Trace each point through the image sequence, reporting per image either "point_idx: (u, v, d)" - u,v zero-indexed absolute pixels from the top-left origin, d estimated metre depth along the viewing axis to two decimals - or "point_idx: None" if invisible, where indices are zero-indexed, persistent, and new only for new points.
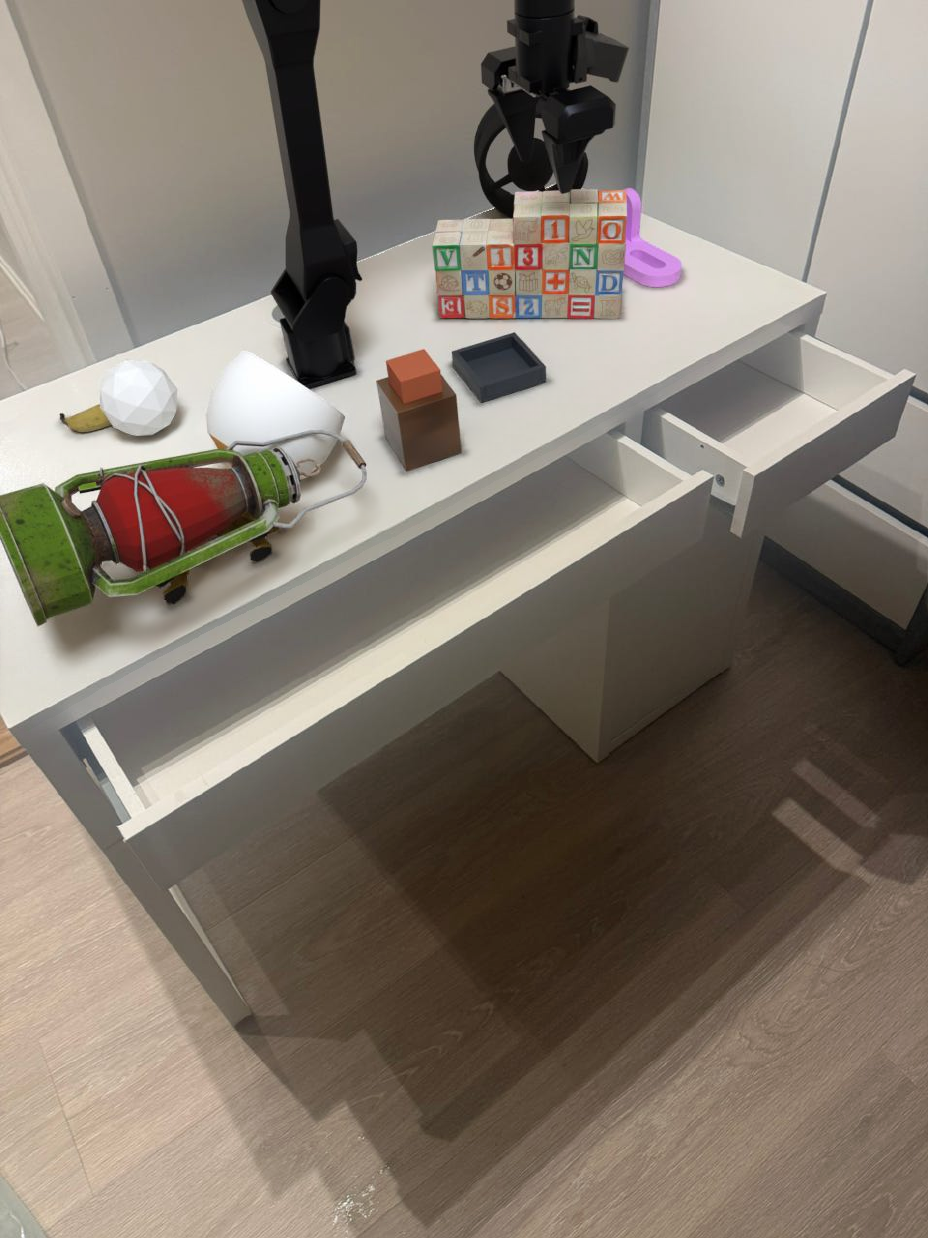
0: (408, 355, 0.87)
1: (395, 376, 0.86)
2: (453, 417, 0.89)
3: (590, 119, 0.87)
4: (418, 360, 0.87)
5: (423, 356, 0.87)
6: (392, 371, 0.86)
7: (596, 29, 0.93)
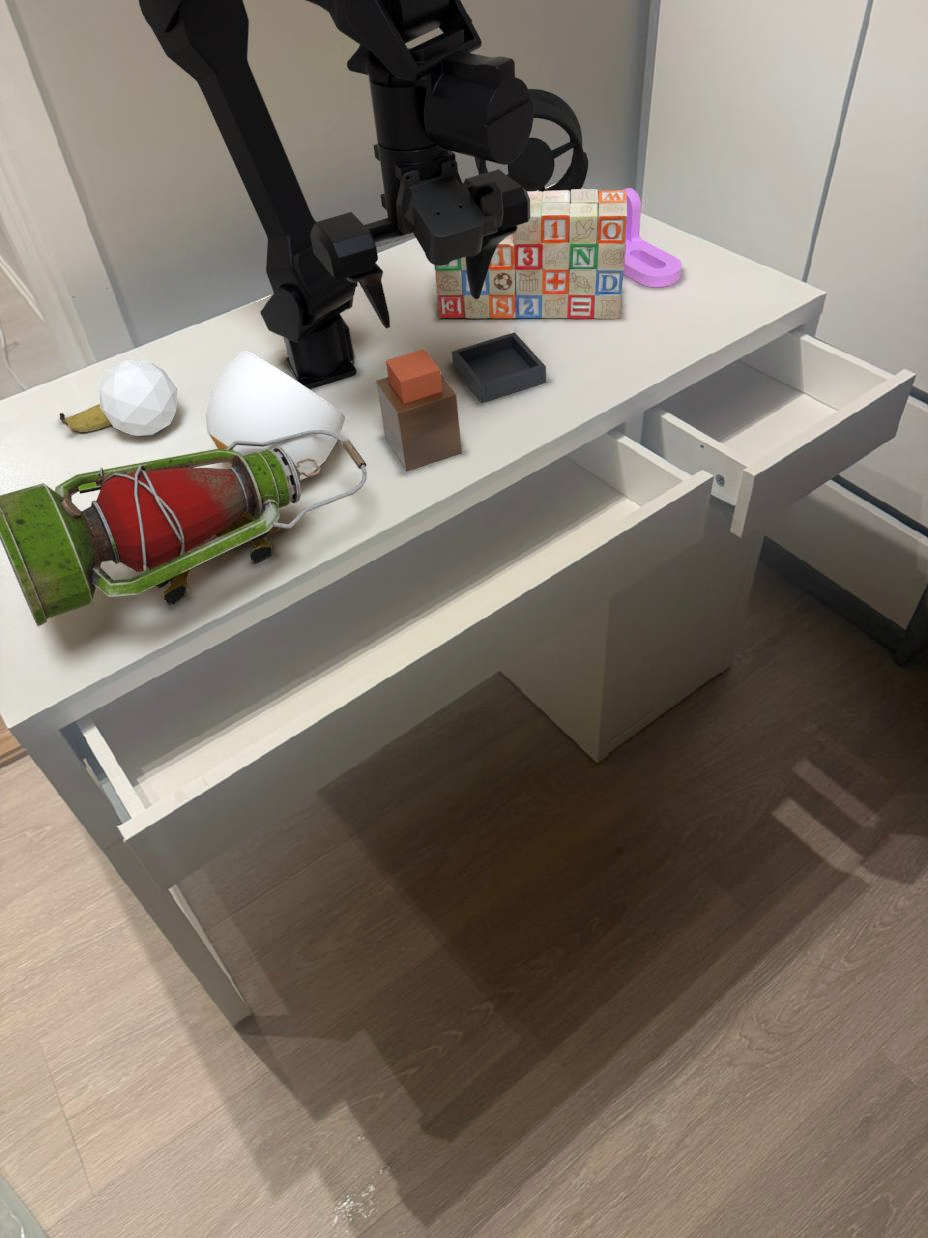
0: (408, 355, 0.87)
1: (395, 376, 0.86)
2: (453, 417, 0.89)
3: (321, 251, 0.77)
4: (418, 360, 0.87)
5: (423, 356, 0.87)
6: (392, 371, 0.86)
7: (481, 205, 0.73)
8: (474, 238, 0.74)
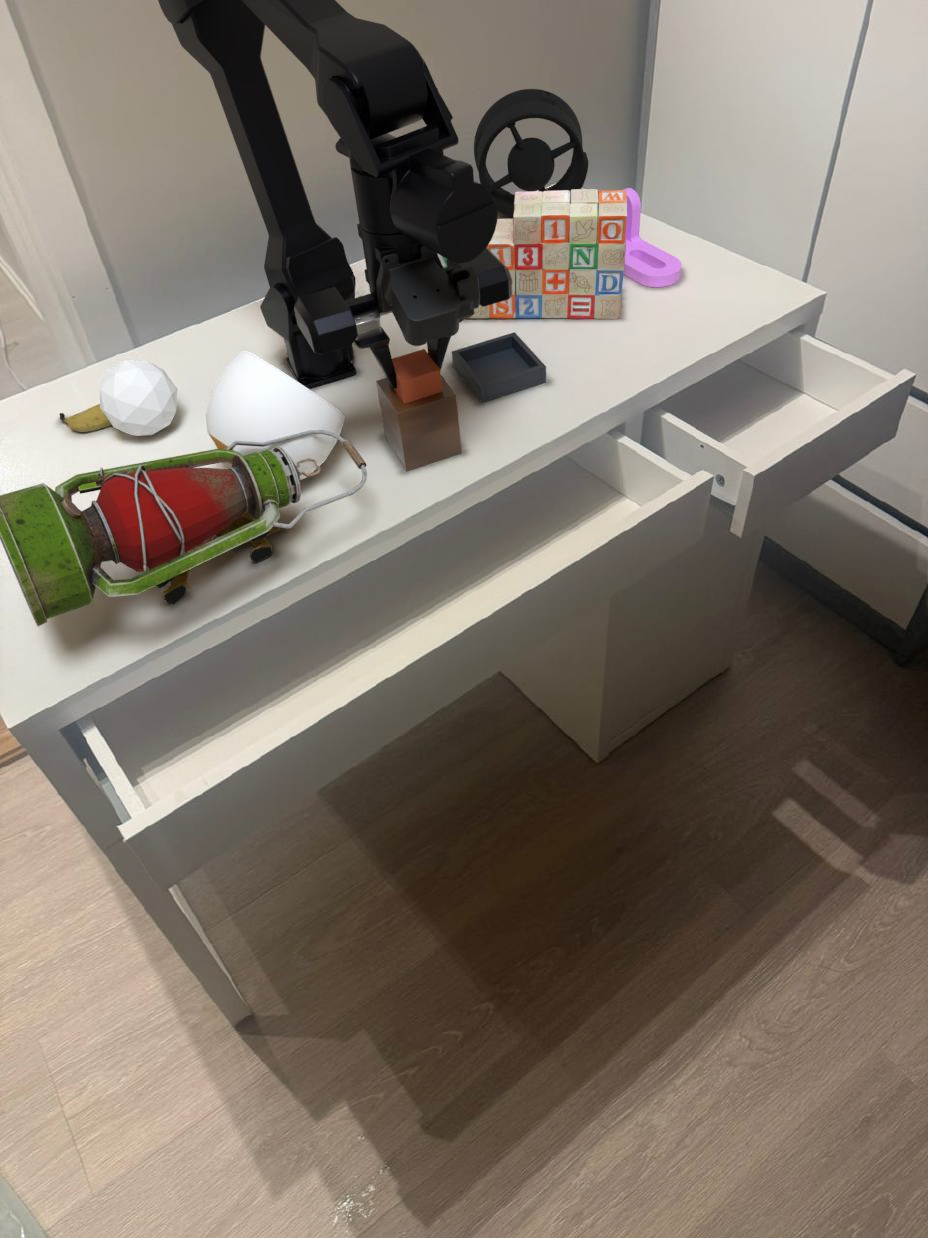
0: (408, 355, 0.87)
1: None
2: (453, 417, 0.89)
3: (303, 326, 0.79)
4: (418, 360, 0.87)
5: (424, 356, 0.87)
6: None
7: (457, 289, 0.75)
8: (450, 321, 0.75)
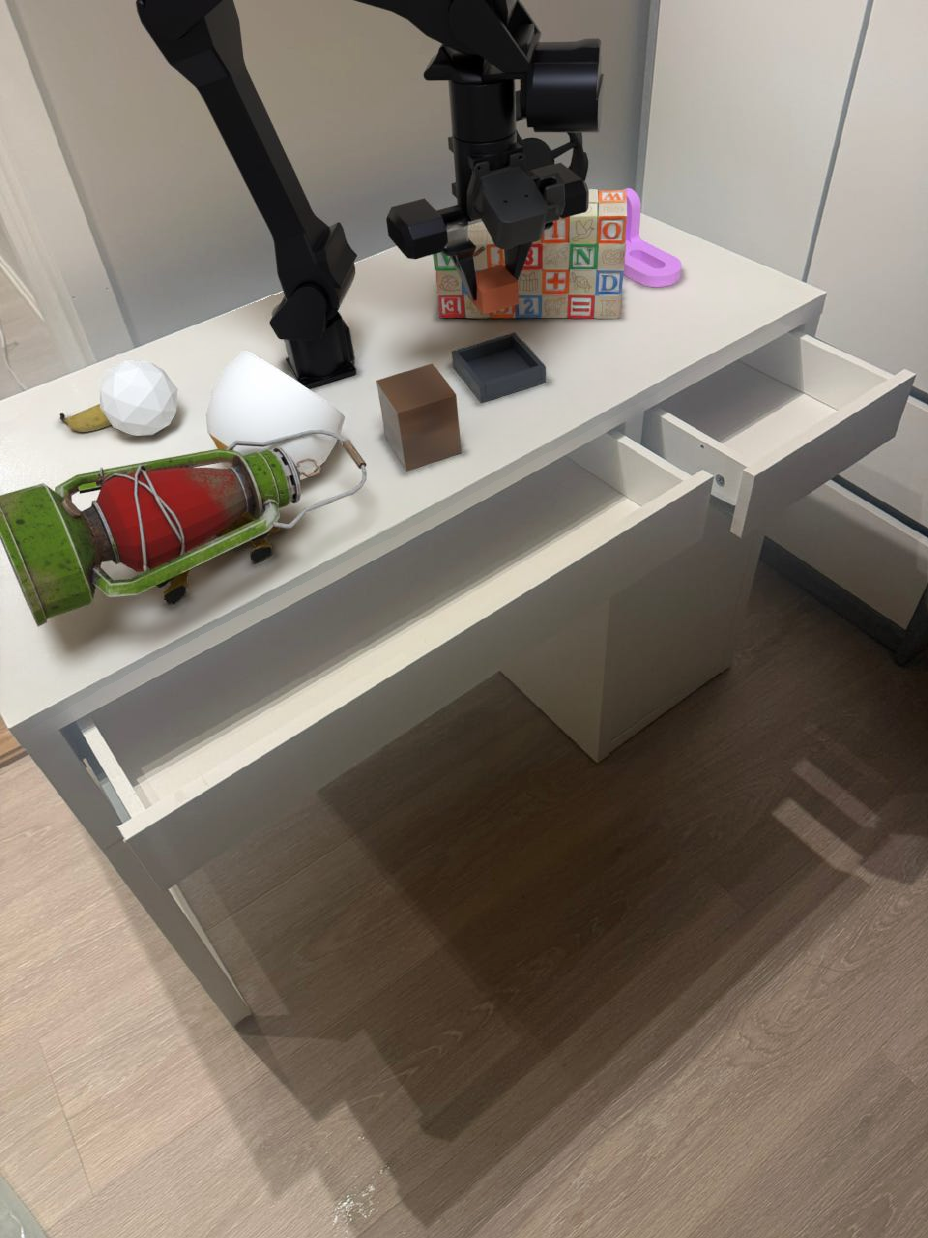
0: (487, 269, 0.93)
1: None
2: (453, 417, 0.89)
3: (396, 233, 0.85)
4: (496, 274, 0.92)
5: (501, 270, 0.93)
6: None
7: (545, 195, 0.80)
8: (537, 225, 0.81)
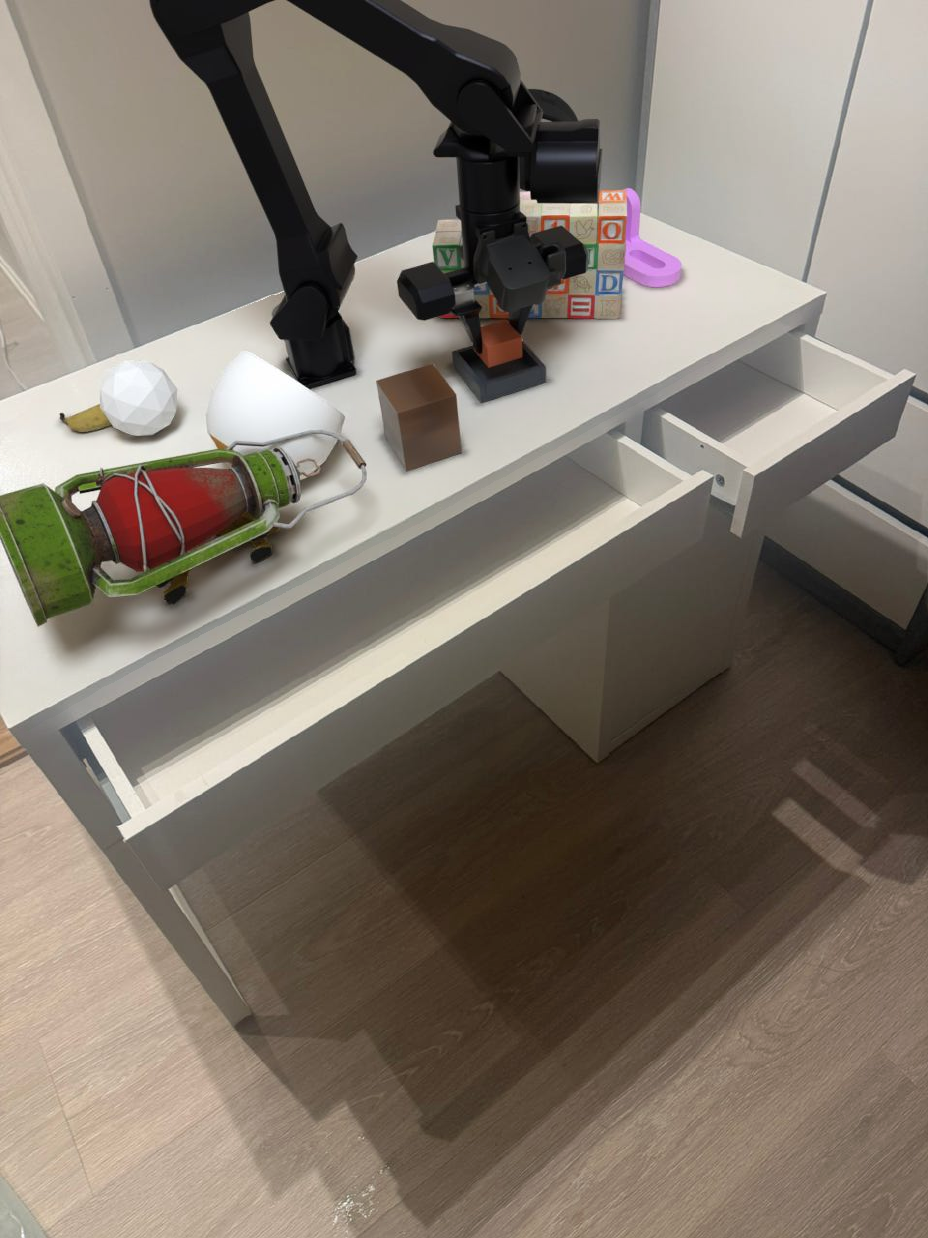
0: (492, 324, 0.98)
1: None
2: (453, 417, 0.89)
3: (406, 295, 0.89)
4: (501, 329, 0.97)
5: (505, 325, 0.98)
6: None
7: (547, 262, 0.85)
8: (540, 290, 0.86)
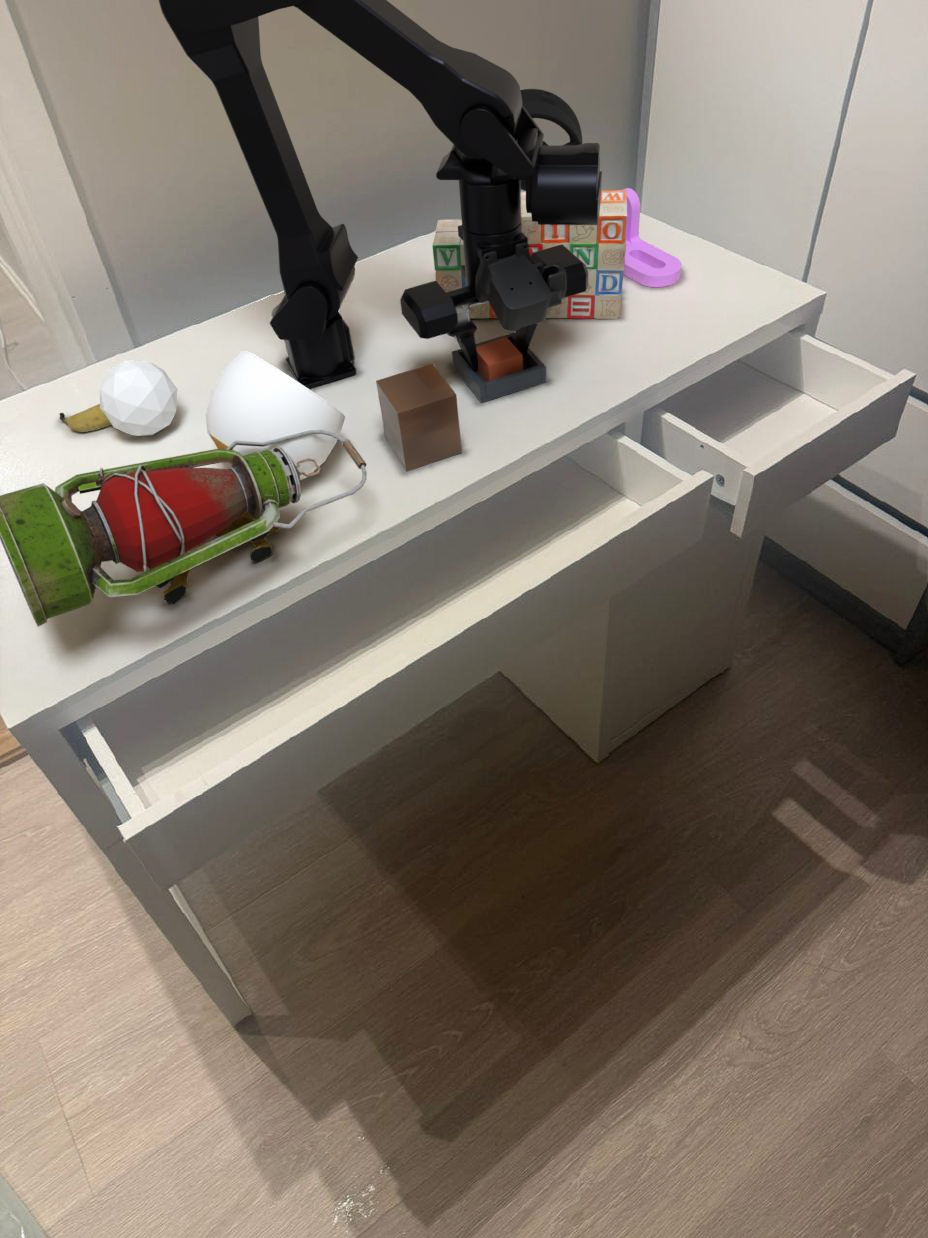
0: (493, 342, 0.99)
1: (483, 360, 0.98)
2: (453, 417, 0.89)
3: (409, 314, 0.91)
4: (502, 347, 0.99)
5: (506, 343, 0.99)
6: (480, 356, 0.98)
7: (548, 282, 0.87)
8: (541, 309, 0.87)
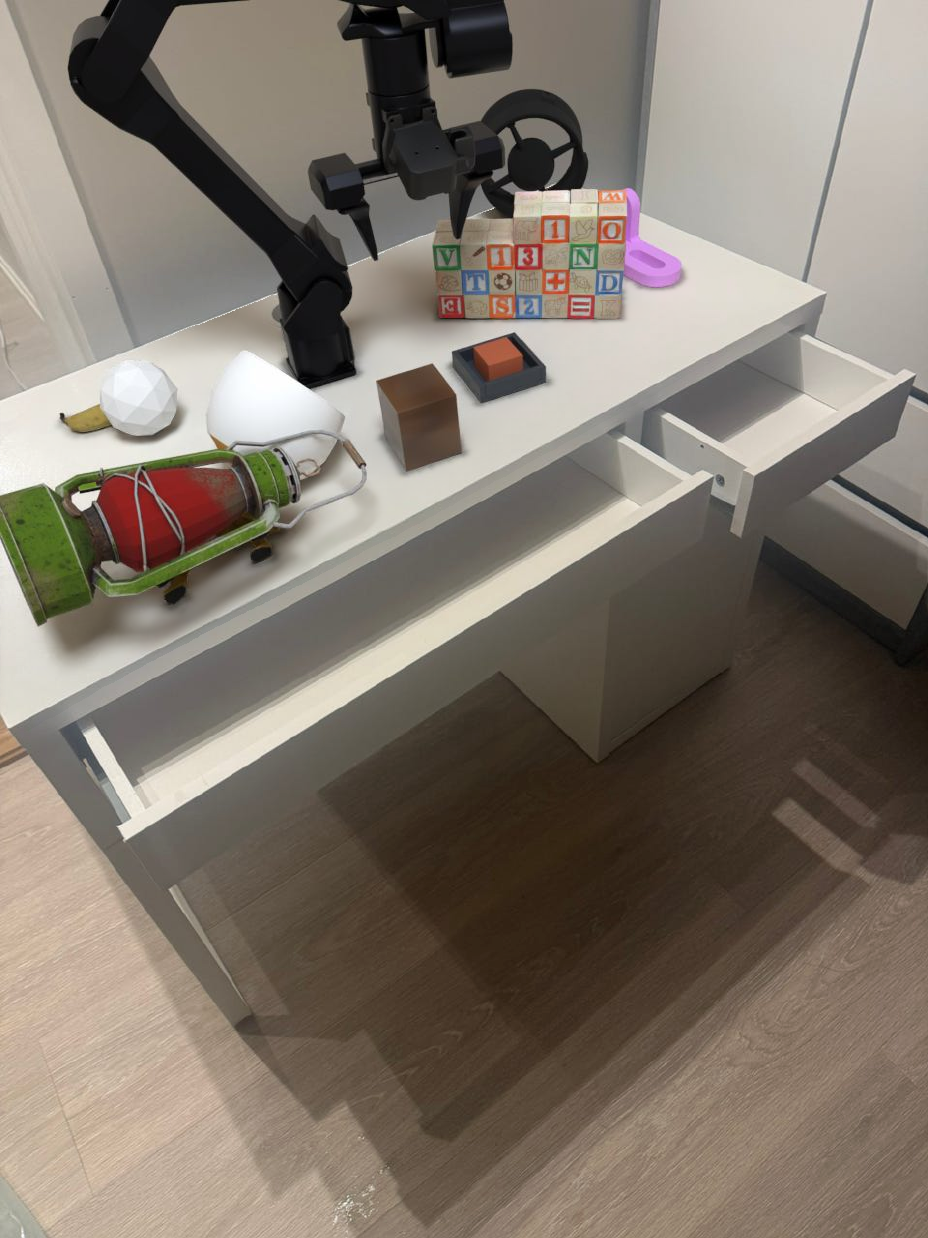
0: (493, 342, 0.99)
1: (483, 360, 0.98)
2: (453, 417, 0.89)
3: (315, 185, 0.88)
4: (502, 347, 0.99)
5: (506, 343, 0.99)
6: (480, 356, 0.98)
7: (455, 147, 0.83)
8: (448, 176, 0.84)
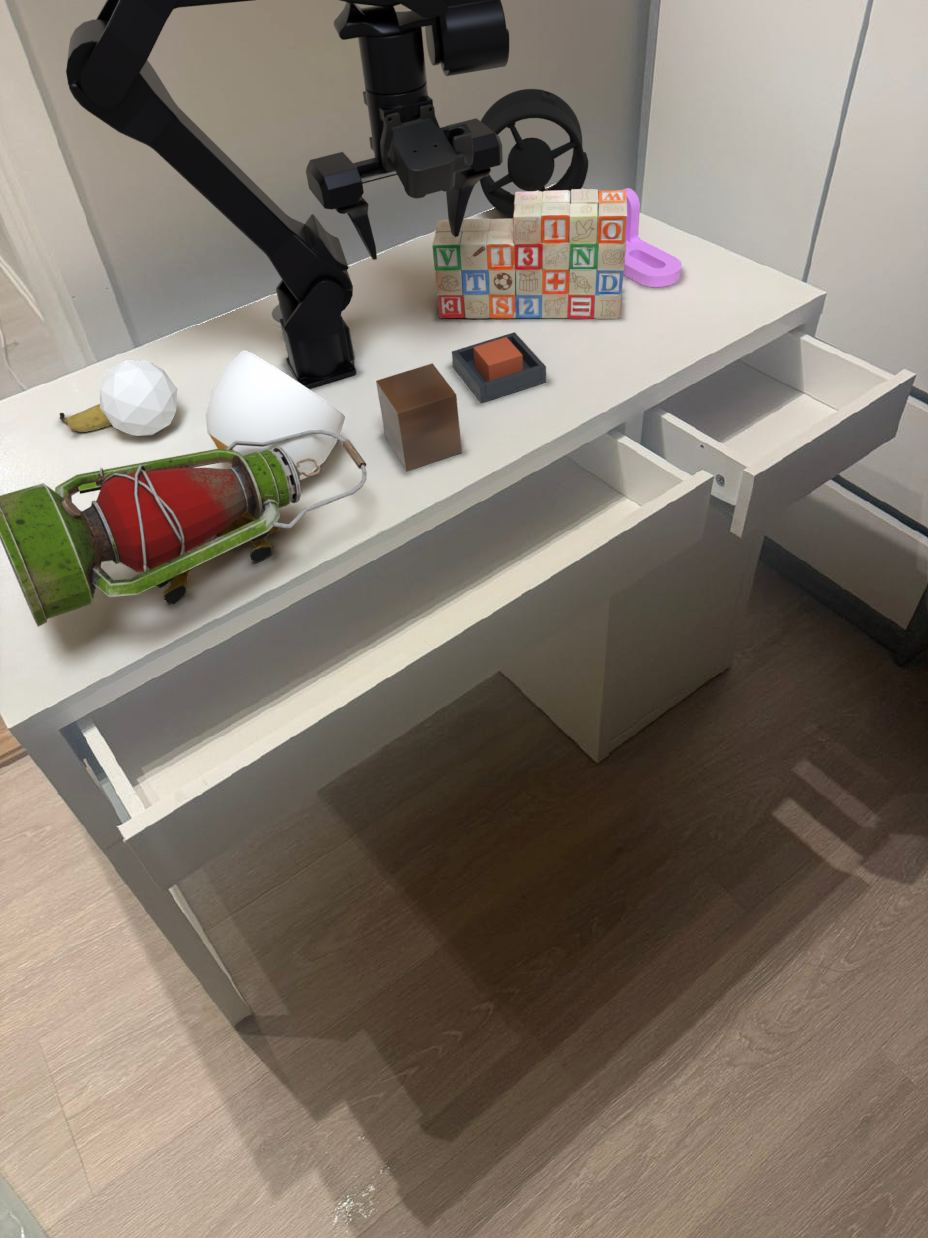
0: (493, 342, 0.99)
1: (483, 360, 0.98)
2: (453, 417, 0.89)
3: (314, 185, 0.88)
4: (502, 347, 0.99)
5: (506, 343, 0.99)
6: (480, 356, 0.98)
7: (453, 144, 0.83)
8: (446, 174, 0.84)
